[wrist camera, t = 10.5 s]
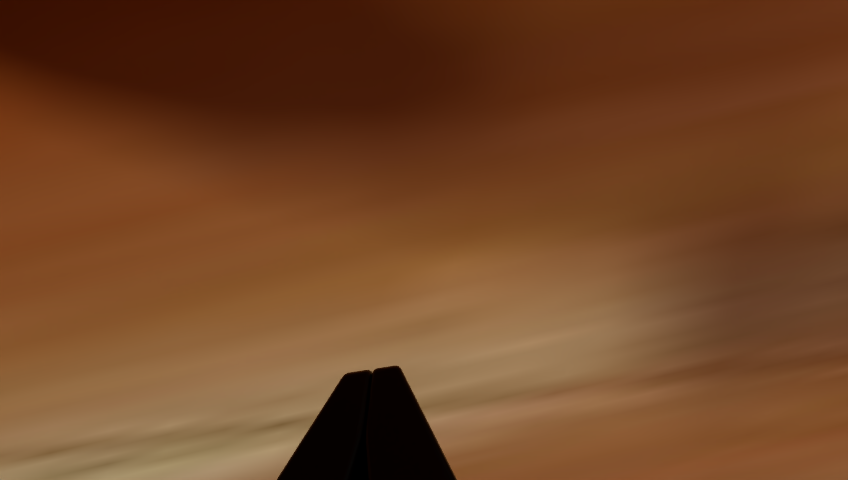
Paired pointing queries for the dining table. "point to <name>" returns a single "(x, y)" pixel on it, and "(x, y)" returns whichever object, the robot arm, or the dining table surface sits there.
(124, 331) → the dining table surface
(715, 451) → the dining table surface
